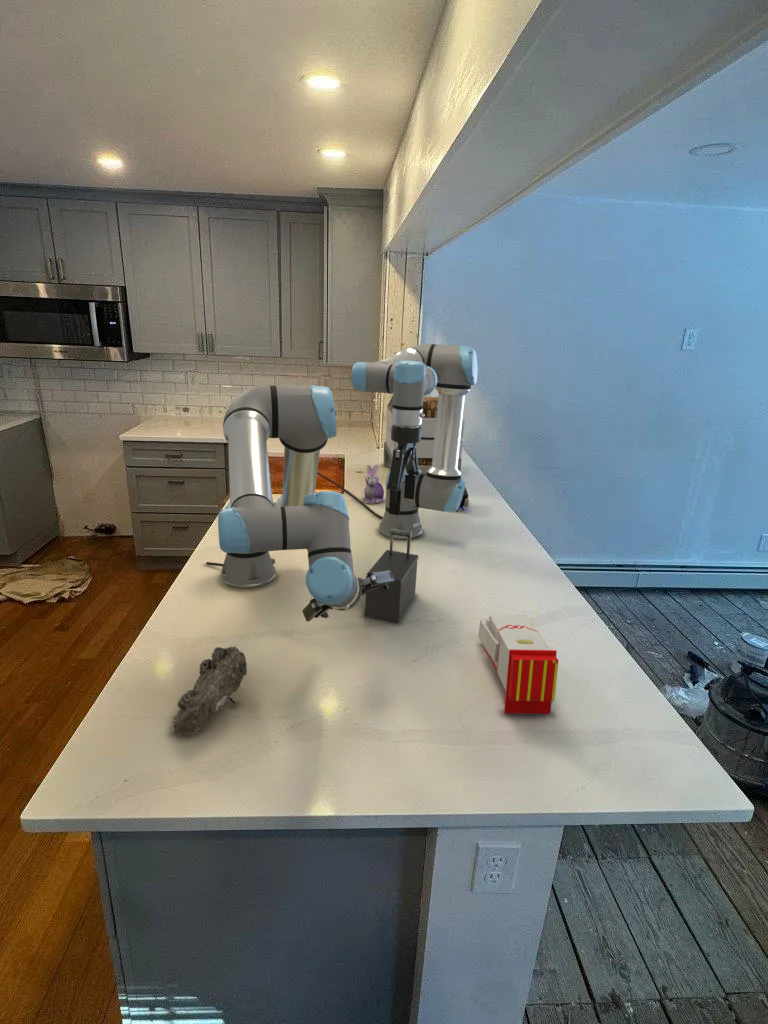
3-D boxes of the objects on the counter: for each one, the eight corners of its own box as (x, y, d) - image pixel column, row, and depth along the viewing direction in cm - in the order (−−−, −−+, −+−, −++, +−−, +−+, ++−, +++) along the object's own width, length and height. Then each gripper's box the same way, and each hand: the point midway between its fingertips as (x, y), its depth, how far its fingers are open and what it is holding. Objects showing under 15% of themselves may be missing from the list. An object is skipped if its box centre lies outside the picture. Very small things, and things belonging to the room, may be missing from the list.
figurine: (368, 505, 226) (369, 469, 221) (357, 498, 235) (358, 463, 230) (389, 503, 230) (391, 467, 225) (378, 495, 239) (379, 461, 234)
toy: (524, 600, 137) (567, 656, 108) (520, 651, 140) (560, 720, 111) (474, 599, 137) (504, 655, 107) (471, 650, 140) (498, 719, 110)
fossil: (197, 648, 121) (247, 617, 116) (228, 678, 124) (278, 648, 119) (149, 728, 102) (207, 694, 97) (187, 761, 105) (245, 730, 100)
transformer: (382, 463, 289) (386, 382, 275) (445, 464, 293) (451, 384, 279) (390, 482, 257) (394, 392, 243) (460, 483, 261) (468, 394, 247)
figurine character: (468, 516, 224) (463, 500, 237) (471, 498, 221) (465, 483, 234) (452, 515, 224) (447, 499, 237) (453, 498, 220) (449, 482, 234)
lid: (386, 553, 157) (387, 523, 154) (418, 559, 155) (420, 528, 152) (365, 578, 142) (367, 546, 139) (400, 585, 139) (402, 552, 136)
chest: (383, 589, 160) (385, 554, 156) (415, 595, 158) (417, 560, 154) (364, 616, 146) (365, 578, 142) (398, 623, 143) (400, 585, 139)
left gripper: (286, 636, 104) (307, 638, 125) (409, 579, 106) (410, 590, 126) (271, 598, 106) (295, 607, 127) (392, 543, 107) (396, 560, 128)
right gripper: (407, 436, 128) (402, 523, 136) (432, 418, 151) (427, 494, 158) (376, 433, 131) (372, 519, 138) (405, 415, 153) (401, 490, 160)
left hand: (352, 599), depth 127 cm, fingers open, 13 cm apart
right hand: (402, 506), depth 148 cm, fingers open, 13 cm apart
